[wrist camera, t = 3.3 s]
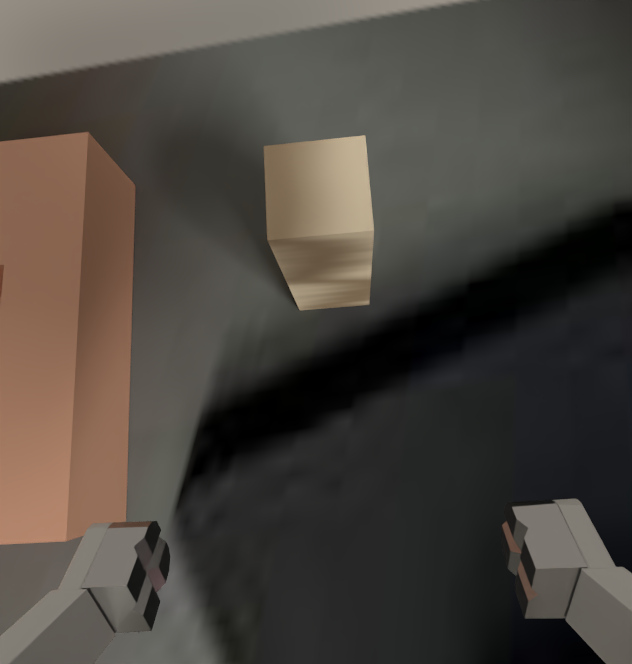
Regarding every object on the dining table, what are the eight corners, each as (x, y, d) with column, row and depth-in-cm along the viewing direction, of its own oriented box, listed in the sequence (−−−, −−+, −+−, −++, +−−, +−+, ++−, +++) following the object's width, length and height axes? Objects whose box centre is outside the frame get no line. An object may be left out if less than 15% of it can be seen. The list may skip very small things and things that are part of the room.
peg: (363, 239, 29) (365, 135, 19) (369, 304, 28) (374, 230, 18) (296, 245, 29) (263, 146, 19) (299, 310, 28) (267, 240, 18)
